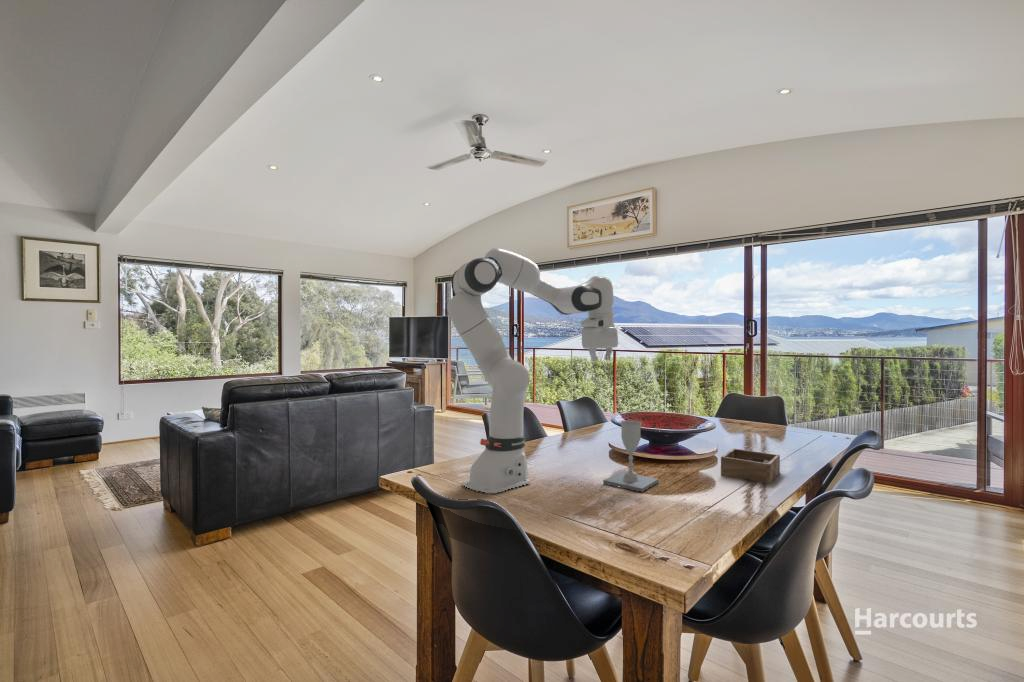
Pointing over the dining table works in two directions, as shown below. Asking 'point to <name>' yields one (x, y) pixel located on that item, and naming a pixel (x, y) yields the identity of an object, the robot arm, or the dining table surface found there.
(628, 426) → the chalice
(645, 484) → the slate board
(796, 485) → the dining table surface
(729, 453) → the walnut display box
